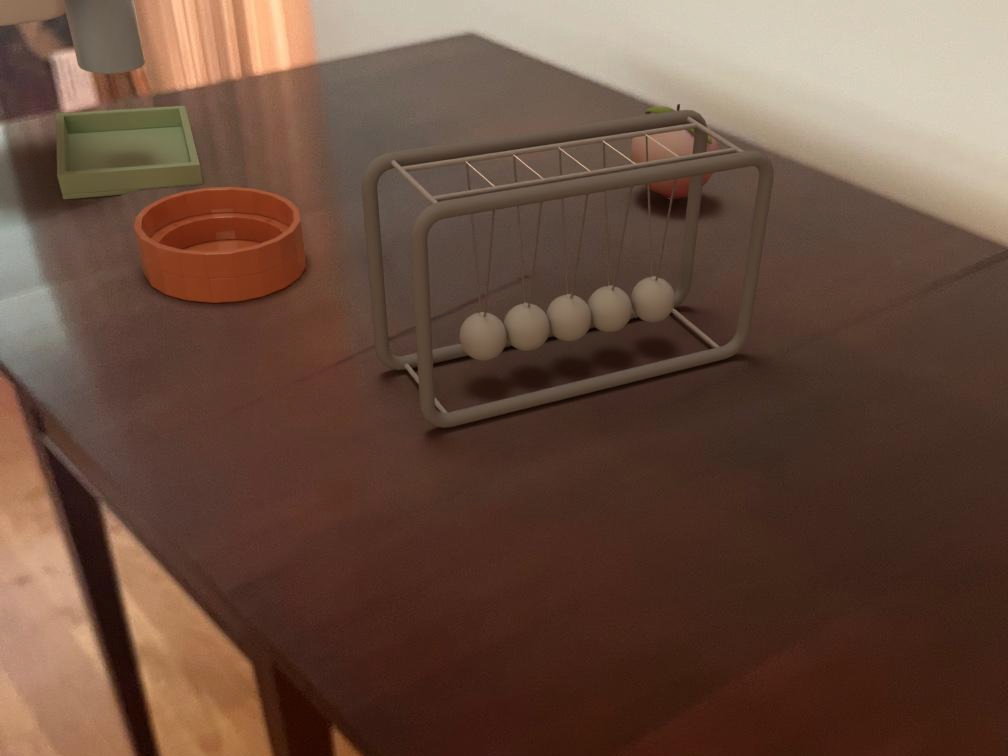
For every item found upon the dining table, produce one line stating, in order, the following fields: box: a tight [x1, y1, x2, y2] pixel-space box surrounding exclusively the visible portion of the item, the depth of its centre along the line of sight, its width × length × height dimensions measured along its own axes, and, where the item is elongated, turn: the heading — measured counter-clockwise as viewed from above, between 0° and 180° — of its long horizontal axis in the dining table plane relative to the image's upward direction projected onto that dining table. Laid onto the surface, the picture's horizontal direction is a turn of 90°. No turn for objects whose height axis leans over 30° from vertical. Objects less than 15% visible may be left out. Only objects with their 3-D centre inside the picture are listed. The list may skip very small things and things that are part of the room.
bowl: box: [133, 186, 307, 304], centre depth 106 cm, size 14×14×5 cm
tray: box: [55, 105, 204, 200], centre depth 124 cm, size 18×14×2 cm
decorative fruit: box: [630, 103, 720, 200], centre depth 121 cm, size 9×8×10 cm
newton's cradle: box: [361, 109, 775, 429], centre depth 92 cm, size 30×10×18 cm, turn 119°
